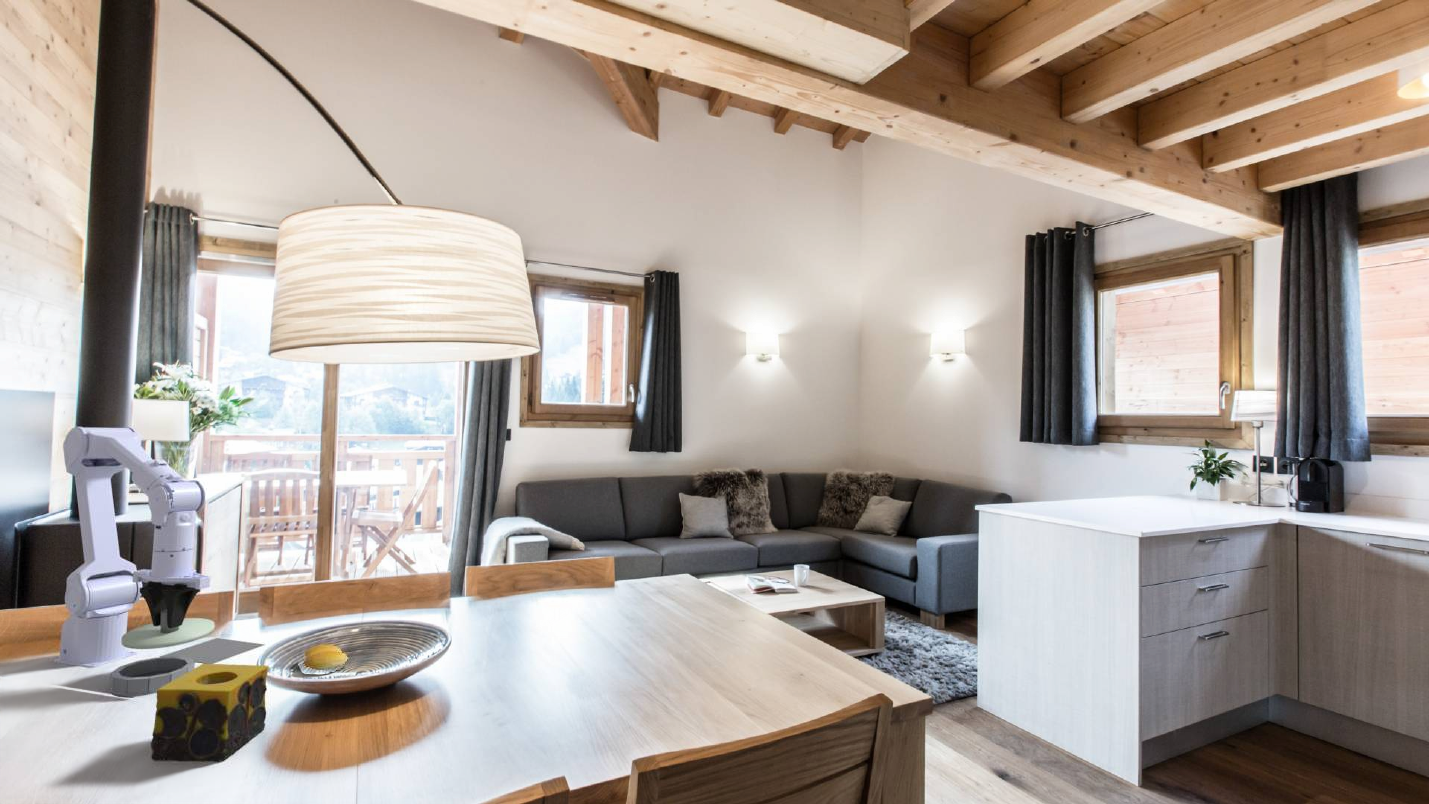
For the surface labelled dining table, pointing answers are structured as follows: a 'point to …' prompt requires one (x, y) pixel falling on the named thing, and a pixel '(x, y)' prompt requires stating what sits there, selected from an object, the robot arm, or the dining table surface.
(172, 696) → the yellow patterned cube
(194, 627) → the lid
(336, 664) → the bread roll
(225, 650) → the mat
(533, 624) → the dining table surface
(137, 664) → the bowl
